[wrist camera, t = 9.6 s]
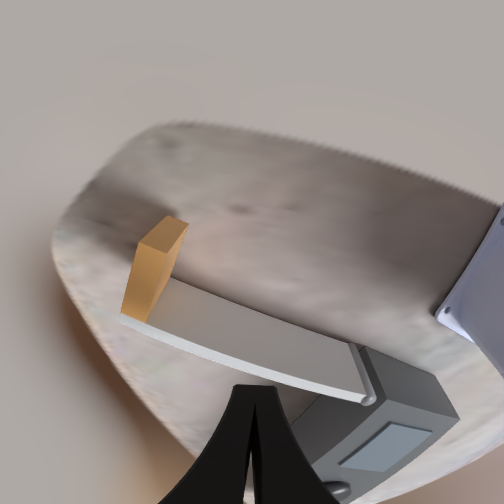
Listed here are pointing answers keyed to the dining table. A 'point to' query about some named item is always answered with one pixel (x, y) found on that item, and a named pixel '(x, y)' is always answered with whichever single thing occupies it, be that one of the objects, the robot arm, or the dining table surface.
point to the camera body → (374, 427)
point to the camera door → (233, 327)
